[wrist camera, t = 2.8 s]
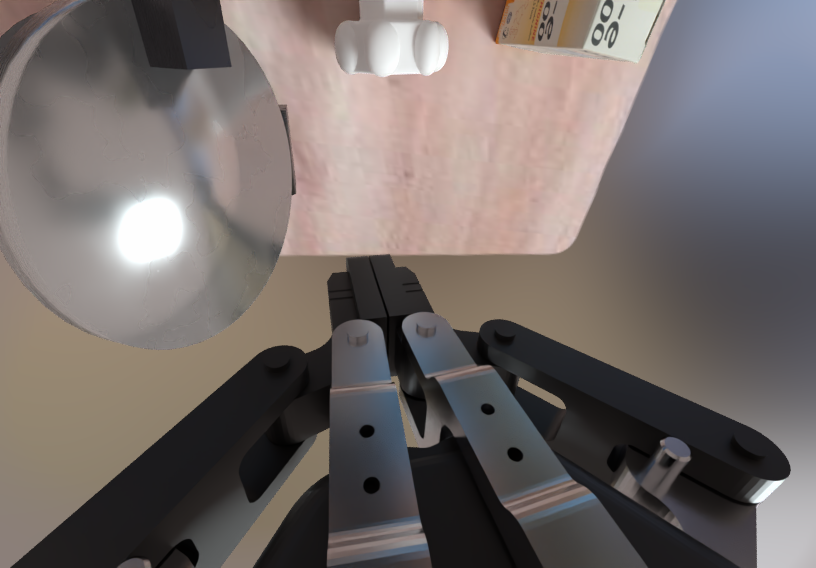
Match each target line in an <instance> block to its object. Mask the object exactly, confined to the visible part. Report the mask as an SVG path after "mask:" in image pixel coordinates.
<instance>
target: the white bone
mask: <svg viewBox="0 0 816 568" xmlns="http://www.w3.org/2000/svg"><path fill="white" fill-rule="evenodd" d="M359 7H360V20H359V21H350V20H347V21H344V22H342V23H341V24H340V25H339V27H338V28H337V30H336V34H335V42H334V45H335V53H336V58H337V61H338V63H339V65H340V67H341V69H342V70H343V71H344V72H346V73H348V74H356V73H365V74H375V75H376V76H379V77H387V76H389V75H396V74H421V75H424V76H428V75H431V74H432V73H433V72H437V71H439V70H440V69H441V68H442V67H443V65H444V64H445V62H446V59H447V55H448V36H447V32H446V30H445V28H444V27H443V26H442V25H441V24H440V23H439V22H434V21H430V20H423V0H359Z"/></svg>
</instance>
